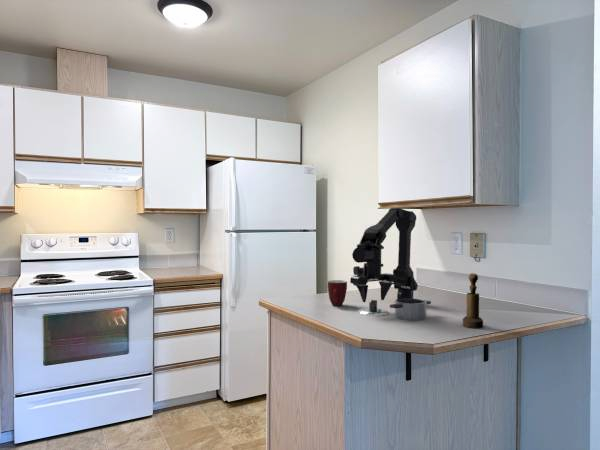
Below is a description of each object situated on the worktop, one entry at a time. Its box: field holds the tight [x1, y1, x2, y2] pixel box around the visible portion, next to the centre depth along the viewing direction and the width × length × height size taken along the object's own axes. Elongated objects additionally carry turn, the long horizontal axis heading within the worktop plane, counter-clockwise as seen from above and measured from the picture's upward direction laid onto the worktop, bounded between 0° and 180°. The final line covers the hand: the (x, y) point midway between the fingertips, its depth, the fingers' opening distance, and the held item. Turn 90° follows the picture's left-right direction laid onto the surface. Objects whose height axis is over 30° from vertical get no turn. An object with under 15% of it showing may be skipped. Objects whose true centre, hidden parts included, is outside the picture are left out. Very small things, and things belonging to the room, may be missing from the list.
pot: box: [389, 298, 432, 322], centre depth 159 cm, size 18×11×6 cm, turn 121°
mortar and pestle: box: [462, 272, 484, 329], centre depth 147 cm, size 7×6×18 cm
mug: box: [327, 279, 348, 307], centre depth 179 cm, size 10×8×10 cm
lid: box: [357, 299, 389, 317], centre depth 167 cm, size 12×12×5 cm
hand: (373, 301), depth 167 cm, fingers open, 9 cm apart
